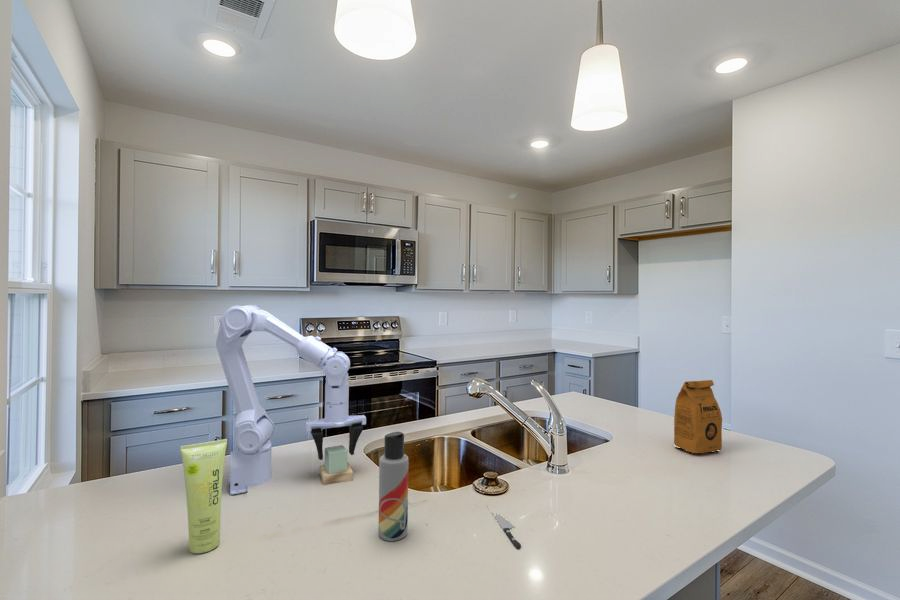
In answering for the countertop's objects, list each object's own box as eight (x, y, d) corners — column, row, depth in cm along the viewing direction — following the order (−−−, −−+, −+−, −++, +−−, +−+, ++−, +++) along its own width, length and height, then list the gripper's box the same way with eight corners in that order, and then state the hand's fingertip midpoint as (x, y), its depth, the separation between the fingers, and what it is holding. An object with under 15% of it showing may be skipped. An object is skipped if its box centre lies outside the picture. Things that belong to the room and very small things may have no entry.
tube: (200, 559, 76) (201, 449, 76) (178, 553, 77) (179, 445, 77) (226, 541, 81) (227, 438, 81) (205, 536, 83) (206, 435, 83)
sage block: (328, 474, 104) (329, 453, 104) (324, 467, 108) (324, 447, 108) (347, 470, 106) (347, 450, 106) (342, 464, 110) (342, 445, 110)
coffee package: (727, 455, 131) (729, 382, 130) (693, 458, 128) (695, 384, 127) (701, 443, 140) (702, 376, 140) (669, 446, 137) (670, 377, 137)
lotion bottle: (395, 545, 81) (396, 439, 81) (372, 535, 84) (373, 434, 84) (413, 531, 86) (414, 431, 86) (391, 523, 89) (392, 426, 89)
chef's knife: (495, 503, 99) (483, 503, 99) (496, 498, 99) (483, 498, 99) (530, 550, 81) (516, 551, 80) (531, 544, 81) (516, 545, 80)
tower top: (323, 484, 103) (323, 476, 103) (320, 473, 109) (320, 465, 109) (352, 480, 106) (352, 472, 106) (347, 469, 112) (347, 461, 112)
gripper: (309, 408, 100) (308, 466, 101) (369, 402, 107) (369, 456, 107) (304, 401, 107) (303, 456, 107) (362, 396, 113) (361, 447, 113)
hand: (336, 456), depth 107 cm, fingers open, 7 cm apart
